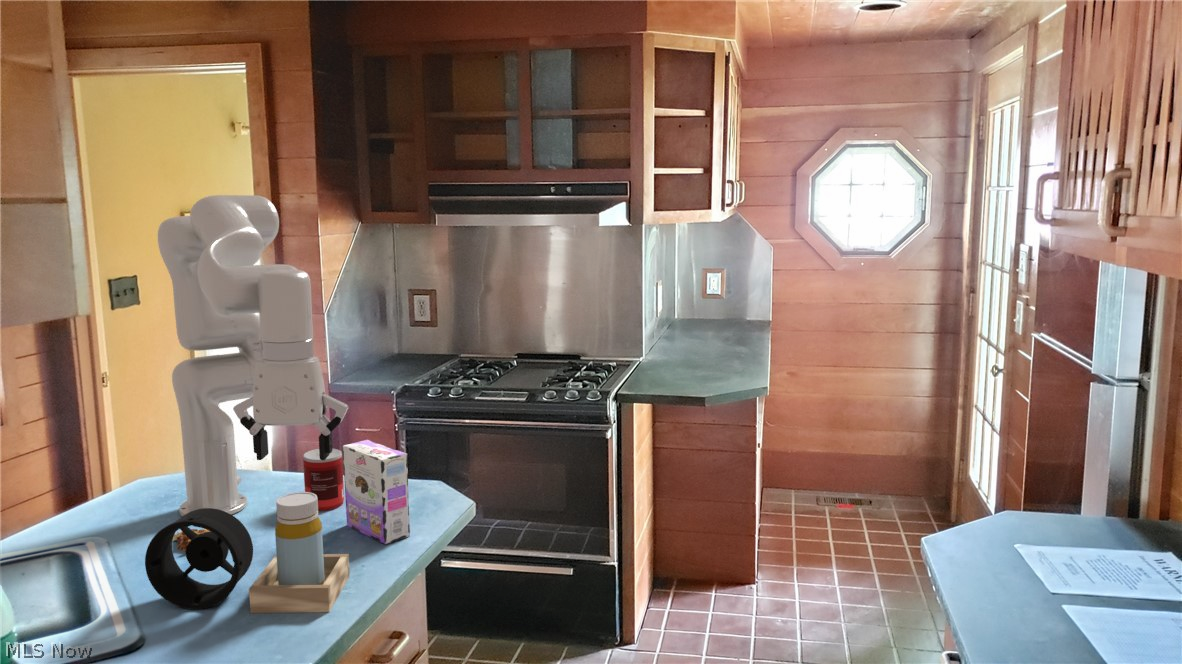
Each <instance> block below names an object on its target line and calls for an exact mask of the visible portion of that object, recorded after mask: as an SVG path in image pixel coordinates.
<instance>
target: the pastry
mask: <svg viewBox="0 0 1182 664" xmlns="http://www.w3.org/2000/svg"><path fill="white" fill-rule="evenodd" d="M190 529H191V530H192V531H194V532H195V533H196V534H197V535H199V534H201V533H204V532H211V531H209V530H206V529H204V528H201V529H199V530H198V529H197V528H190ZM174 541H176V542H178V543H179V544H178V545H177V546H176V547H175V549H176V550H180V551H182V552H185V553H186V548H187V545H188V544H189V542H190V541H191V540H190V539H189V538H188V537H187V536H186V535H185V534H184V533H183V532H182V531H181V530H180V529H179V530H178V531H177V533H175V534H174V537H173V541H172V542H174Z"/></svg>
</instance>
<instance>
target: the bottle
mask: <svg viewBox="0 0 1182 664" xmlns="http://www.w3.org/2000/svg"><path fill="white" fill-rule="evenodd" d="M275 505H276V507H275V508H276V519H277V522H276V526H275V529H274V530H275V531H274V536H275V537H274V538H275V550H276V555H277V569H278V584H279V585H323V584H324V581H325V580H324V577H325V576H324V557H323V554H324V542H323V527H322V521H321V519H320V518H319V511H318V498H317V495H316V494H314V493H309V492H305V491H299V492H298V491H297V492H292V493H287V494H283V495H281V496H280V497H278V498H277V500H276V503H275Z"/></svg>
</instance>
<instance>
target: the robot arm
mask: <svg viewBox="0 0 1182 664" xmlns="http://www.w3.org/2000/svg"><path fill="white" fill-rule="evenodd" d="M189 212H190V214H189V215H181V216H173V217H169V218H167V219H165V220H164V221H162V222H161V223H160V225H159V227H158V230H157V244H158V245H157V246H158V249H159V252H160V257H161V258H162V261H163V263H164V265H165V267H166V269H167V271H168V273H169V276H170V280H171V285H172V292H173V294H172V295H173V303H174V315H175V316H174V317H175V327H176V335H177V339H178V343H179V345H180V346H181V347H182V348H183V349H185V350H188V351H211V350H213V351H214V350H221V349H229V348H238V350H239V352H234V353H225V354H214V355H205V356H198V357H192V358H189V359H185V360H183V361H180V362H179V363H178V364H177V365H176V366H174V369H173V370H172V373H171V383H172V387H173V391H174V395H175V399H176V403H177V407H178V411H179V420H180V429H181V441H182V453H183V465H184V477H185V491H186V501H184V502H183V503H182V504H181V505H179V508H178V509H179V515H180V516H181V517H182V516H184V515H185V514H187V513H189V512H191V511H194V510H197V509H203V508H213V509H219V510H222V511H225V512H227V513H229V514H231V515H234V514H237V513H238V512H240V511H242V510H244V509H245V508H246V506H247V505H248V499H247V497H246V496H245V495H244V494H242V493H239V487H238V486H239V485H240V484H241V482H242V478H241V477H242V476H240V475H238V471H237V458H236V457H237V456H236V455H237V454H236V443H235V441H236V440H235V429H234V422H233V421H232V418H231V417H230V416H229V415H228V413H226V412H225V411H224V410H222V408H220V406H219V404H221V403H226V402H231V401H238V400H243V401H241V402H239V403H237V404H235V406H233V411H234V413H235V414H236V417H237V418H238V419H239V424H241V425H242V427H244V428H245V429H246V430H247V431H248V432H249V434H250V435H251V436H252V443H253V446H252V447H253V452H254V454H256V460H257V461H262V460H263V459H265V457H267V456H268V455H269V440H268V431H267V430H266V429H265V427H266V426H270V427H271V426H273V427H274V426H280V427H282V426H285V427H286V426H293V427H294V426H299V427H301V426H303V427H304V426H313V425H314V426H315V427H316V428H317V429H318V431H320V434H319V435H318V449H319V455H320V459H321V460H325V459H326V458H327V457H328V456H329V454H330V453H331V452H332V449H334V447H333V431H334V430H335V429H336V428H337V426H339V425H340V424H341V423H342V421H343V420H344V417H346V414H347V413H348V409H349V405H348V404H347V403H345V402H342V401H341V400H339V399H336V398H334V397H332V396H331V395H328V394H326V387H325V386H326V385H325V380H324V375H323V369H322V367H321V361H320V359H319V357H318V356H315V346H314V345H315V343H314V328H313V326H314V324H313V303H312V301H313V300H312V285H311V284H312V283H311V277H310V275H309V274H308V273H307V272H306V271H304V270H302V269H297V267H295V266H293V265H291V264H281V263H280V264H278V263H277V264H257V262H258V261H259V260H260V258H261V257H262V254H263V252H264V250H265V249H266V248H267V247H268V246H269V245H270V244H272V242H273V241H274V240H275V238H277V235H278V233H279V228H280V218H279V213H278V211H277V208H276V207H275V205H274V203H272V201H271V200H270V199H268V198H267V197H265V196H261V195H250V194H249V195H247V194H246V195H243V194H241V195H239V194H238V195H235V194H234V195H233V194H232V195H231V194H230V195H229V194H228V195H227V194H218V195H217V194H215V195H208V196H204V197H203V198H200V199H198V200H197V201H196V202H195V203H194V204H193V205H192V207H191V209H190V211H189ZM249 408H252V413H253V414H252V415H253V417H252V416H251V415H250V414H249V411H248V409H249ZM327 408H331V409H332V410H334V411H335V414H334V416H333V419H331V420H330V419H329V417H327V416H326V415H327V412H328V411H327Z"/></svg>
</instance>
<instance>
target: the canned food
mask: <svg viewBox="0 0 1182 664" xmlns="http://www.w3.org/2000/svg"><path fill="white" fill-rule="evenodd" d="M302 461H303V462H302V464H303V466H302V467H303V480H304V481H303V482H304V484H303V485H304V492H309V493H314V494H316V495H317V498H318V512H322V511H323V512H324V511H325V510H326V511H330V510H331V509H332V510H335V509H337V508H340V507H341V506H342V505H343V504H344V500H345V482H344V464H343V451H341V450H340V449H336V448H333V449H332V452H331V453H330V454H329V456H328V457H327V458H326V459H325V460H321V459H320V455H319V448H316V449H312V450H309V451H306V452H305V453H304V454H303V455H302ZM339 506H340V507H339ZM332 510H331V511H332ZM326 511H325V512H326Z"/></svg>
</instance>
